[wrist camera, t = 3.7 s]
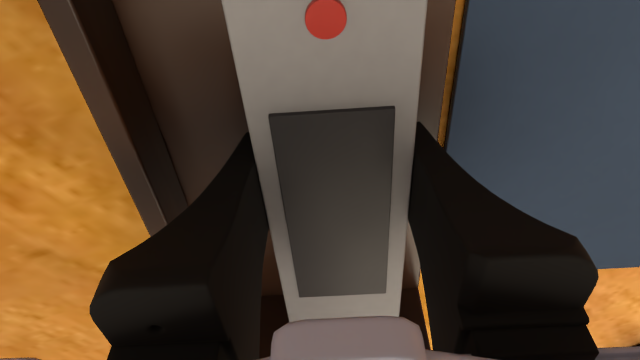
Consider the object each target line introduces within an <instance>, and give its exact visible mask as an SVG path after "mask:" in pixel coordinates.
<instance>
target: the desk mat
mask: <svg viewBox="0 0 640 360" xmlns="http://www.w3.org/2000/svg"><path fill="white" fill-rule="evenodd" d="M444 150H445V151H446V152H447V153H448V154H449V155H450V156H451V157H452V158H453V159H454V160H455V161H456V162H457V163H458V164H459V165H460V166H461V167H462V168H463V169H464V170H465V171H466V172H467V173H468V174H469V175H470V176H472V177H473V178H474V179H475V180H476V181H478V182H479V183H480V184H482V185H483V186H484V187H485V188H487V189H488V190H489V191H491V192H492V193H494V194H495V195H497V196H498V197H499V198H501V199H503V200H504V201H506V202H507V203H509V204H511V205H512V206H514V207H515V208H517V209H519V210H521V211H522V212H524V213H526V214H528V215H530V216H532V217H534V218H536V219H538V220H540V221H542V222H544V223H546V224H548V225H550V226H552V227H555V228H557V229H560V230H562V231H564V232H567V233H569V234H571V235H574V236H576V237H577V238H578V240H579V241H580V242H581V244H582V245H583V247H584V248H585V249H586V251H587V252H588V254H589V256H590V257H591V259H592V261H593V263H594V264H595V266H596V268H597V269H608V268H628V267H639V266H640V0H466V2H465V8H464V15H463V22H462V29H461V36H460V43H459V50H458V57H457V63H456V70H455V77H454V84H453V91H452V98H451V105H450V112H449V118H448V125H447V132H446V139H445V146H444Z"/></svg>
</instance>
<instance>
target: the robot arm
mask: <svg viewBox="0 0 640 360" xmlns="http://www.w3.org/2000/svg"><path fill="white" fill-rule="evenodd" d="M408 221H409V224H410V228H411V231H412V235H413V238H414V242H415V245H416V249H417V253H418V257H419V261H420V267H421V273H422V279H423V285H424V291H425V297H426V303H427V310H428V317H429V324H430V331H431V338H432V345H433V350H425V346H424V340H423V335H422V332H421V330H420V327H419V325H417V324H415V323H413V322H411V321H410V320H408V319H406V318H404V317H395V316H368V317H347V318H326V319H305V320H299V321H294V322H289V323H287V324H285V325H284V326H282V327H281V328H279V329H278V330H276V331H275V332H274V334H273V338H272V342H271V356H270V357H266V358H261V359H259V344H260V312H261V289H262V270H263V262H264V255H265V249H266V242H267V236H268V230H269V224H268V219H267V214H266V210H265V205H264V200H263V195H262V191H261V186H260V181H259V176H258V172H257V167H256V162H255V157H254V153H253V148H252V143H251V139H250V134H249V132H246V133H245V135H244V136H243V137H242V139H241V141H240V142H239V144H238V145H237V147H236V148H235V150H234V151H233V153H232V154H231V156H230V157H229V159H228V160H227V162H226V163H225V164H224V166H223V167H222V168H221V170H220V171H219V173H218V174H217V175H216V176H215V178H214V179H213V180H212V181H211V182H210V184H209V185H208V186H207V187H206V189H205V190H204V191H203V192H202V193H201V194H200V195H199V196H198V197H197V198H196V200H195V201H194V202H193V203H192V204H191V205H190V206H189V207H188V208H186V209H185V210H184V211H183V212H182V213H181V214H180V215H178V216H177V217H176V218H175V219H174V220H172V221H171V222H170V223H169V224H168V225H166V226H165V227H164V228H162V229H161V230H160V231H158V232H157V233H156V234H154V235H153V236H151V237H150V238H148V239H147V240H146V241H144V242H143V243H141V244H139V245H138V246H136V247H135V248H133V249H131V250H129V251H128V252H126V253H124V254H123V255H121V256H119V257H118V258H116V259H114V260H112V261H110V263H109V265H108V267H107V268H106V270H105V272H104V274H103V276H102V278H101V280H100V283H99V285H98V288H97V290H96V292H95V295H94V297H93V300H92V302H91V304H90V315H91V317H92V319H93V321H94V322H95V324H96V325H97V327H98V328H99V329H100V331H101V332H102V333H103V335H104V336H105V337H106V339H107V340H108V341H109V343H110V344H111V345H112V347H111V350H110V352H109V355H108V358H107V360H640V346H635V347H613V348H597V346H596V344H595V342H594V340H593V338H592V336H591V334H590V332H589V330H588V328H587V326H586V325H588V323H589V317H588V315H587V313H586V311H585V309H584V305H585V303H586V301H587V300H588V298H589V296H590V294H591V293H592V291H593V289H594V287H595V286H596V283H597V280H598V270H597V268H596V266H595V264H594V263H593V261H592V259H591V257H590V256H589V254H588V252H587V251H586V249H585V248H584V247H583V245H582V244H581V242H580V241H579V240H578V238H577V237H576V236H574V235H571V234H569V233H567V232H564V231H562V230H560V229H557V228H555V227H552V226H550V225H548V224H546V223H544V222H542V221H540V220H538V219H536V218H534V217H532V216H530V215H528V214H526V213H524V212H522V211H521V210H519V209H517V208H515V207H514V206H512V205H511V204H509V203H507V202H506V201H504V200H503V199H501V198H499V197H498V196H497V195H495V194H494V193H492V192H491V191H489V190H488V189H487V188H485V187H484V186H483V185H482V184H480V183H479V182H478V181H476V180H475V179H474V178H473V177H472V176H470V175H469V174H468V173H467V172H466V171H465V170H464V169H463V168H462V167H461V166H460V165H459V164H458V163H457V162H456V161H455V160H454V159H453V158H452V157H451V156H450V155H449V154H448V153H447V152H446V151H445V150H444V149H443V148H442V147H441V145H440V144H439V143H438V142H437V141H436V140H435V138H434V137H433V136H432V135H431V134H430V132H429V131H428V130H427V129H426V128H425V126H424V125H423V124H422V123H421V122H420V121H419V122H417V124H416V135H415V146H414V157H413V168H412V180H411V191H410V202H409V213H408ZM0 360H40V359H37V358H29V357H27V358H5V359H0Z"/></svg>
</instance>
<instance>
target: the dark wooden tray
mask: <svg viewBox="0 0 640 360" xmlns="http://www.w3.org/2000/svg"><path fill="white" fill-rule="evenodd" d="M37 1H38V3H39V5H40V7H41V9H42V11H43V13H44V15H45V17H46V20H47V22H48V24H49V26H50V28H51V30H52V32H53V34H54V36H55V38H56V40H57V42H58V45H59V47H60V49H61V51H62V53H63V55H64V57H65V59H66V61H67V63H68V65H69V67H70V70H71V72H72V74H73V76H74V78H75V80H76V82H77V84H78V86H79V88H80V90H81V93H82V95H83V97H84V99H85V101H86V103H87V105H88V107H89V109H90V111H91V113H92V115H93V118H94V120H95V122H96V124H97V126H98V128H99V130H100V132H101V134H102V136H103V138H104V140H105V143H106V145H107V147H108V149H109V151H110V153H111V155H112V157H113V159H114V161H115V163H116V165H117V168H118V170H119V172H120V174H121V176H122V178H123V180H124V182H125V184H126V186H127V188H128V190H129V193H130V195H131V197H132V199H133V201H134V203H135V205H136V207H137V209H138V211H139V213H140V215H141V218H142V220H143V222H144V224H145V226H146V228H147V230H148V232H149V234H150V236H153V235H154V234H156V233H157V232H158V231H160V230H161V229H162V228H164V227H165V226H166V225H168V224H169V223H170V222H171V221H172V220H174V219H175V218H176V217H177V216H178V215H180V214H181V213H182V212H183V211H184V210H185V209H186V208H188V207H189V206H190V205H191V204H192V203H193V202H194V201H195V200H196V198H197V197H198V196H199V195H200V194H201V193H202V192H203V191H204V190H205V189H206V187H207V186H208V185H209V184H210V182H211V181H212V180H213V179H214V178H215V176H216V175H217V174H218V173H219V171H220V170H221V168H222V167H223V166H224V164H225V163H226V162H227V160H228V159H229V157H230V156H231V154H232V153H233V151H234V150H235V148H236V147H237V145H238V144H239V142H240V141H241V139H242V137H243V136H244V135H245V133H246V132H249V129H248V124H247V120H246V115H245V110H244V105H243V101H242V96H241V91H240V86H239V82H238V77H237V72H236V68H235V63H234V58H233V53H232V49H231V44H230V39H229V34H228V30H227V25H226V20H225V15H224V11H223V6H222V1H221V0H37ZM455 2H456V0H428V1H427V13H426V24H425V35H424V46H423V57H422V68H421V79H420V90H419V102H418V113H417V122H419V121H420V122H421V123H422V124H423V125H424V126H425V128H426V129H427V130H428V131H429V132H430V134H431V135H432V136H433V137H434V138H435V140H436V141H437V140H438V132H439V124H440V117H441V109H442V101H443V94H444V86H445V78H446V71H447V63H448V56H449V48H450V40H451V33H452V25H453V17H454V10H455ZM420 269H421V267H420V261H419V257H418V253H417V249H416V245H415V242H414V238H413V235H412V231H411V228H410V224H409V221H408V224H407V235H406V246H405V258H404V269H403V280H402V291H401V302H400V313H399V317H404V318H406V319H408V320H410V321H411V322H413V323H415V324H417V325H419V327H420V330H421V332H422V335H423V340H424V346H425V350H431V349H430V344H429V339H428V334H427V329H426V325H425V320H424V315H423V310H422V305H421V300H420V295H419V290H418V285H419V277H420ZM287 323H289V318H288V314H287V309H286V304H285V299H284V295H283V290H282V285H281V281H280V276H279V271H278V266H277V262H276V257H275V252H274V247H273V243H272V238H271V233H270V228H269V230H268V236H267V242H266V249H265V255H264V262H263V270H262V289H261V312H260V344H259V359H261V358H266V357H270V356H271V342H272V338H273V334H274V332H275V331H276V330H278V329H279V328H281V327H282V326H284V325H285V324H287Z"/></svg>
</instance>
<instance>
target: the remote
mask: <svg viewBox="0 0 640 360" xmlns="http://www.w3.org/2000/svg"><path fill="white" fill-rule="evenodd" d="M221 1H222V6H223V11H224V15H225V20H226V25H227V30H228V34H229V39H230V44H231V49H232V53H233V58H234V63H235V68H236V72H237V77H238V82H239V86H240V91H241V96H242V101H243V105H244V110H245V115H246V120H247V124H248V129H249V134H250V139H251V143H252V148H253V153H254V157H255V162H256V167H257V172H258V176H259V181H260V186H261V191H262V195H263V200H264V205H265V210H266V214H267V219H268V224H269V228H270V233H271V238H272V243H273V247H274V252H275V257H276V262H277V266H278V271H279V276H280V281H281V285H282V290H283V295H284V299H285V304H286V309H287V314H288V318H289V322H294V321H299V320H305V319H326V318H347V317H368V316H395V317H399V313H400V302H401V291H402V280H403V269H404V258H405V246H406V235H407V224H408V213H409V202H410V191H411V180H412V168H413V157H414V146H415V135H416V124H417V113H418V102H419V90H420V79H421V68H422V57H423V46H424V35H425V24H426V13H427V1H428V0H221Z"/></svg>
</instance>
